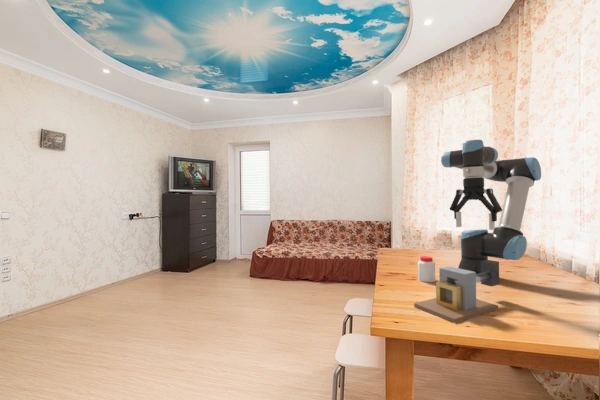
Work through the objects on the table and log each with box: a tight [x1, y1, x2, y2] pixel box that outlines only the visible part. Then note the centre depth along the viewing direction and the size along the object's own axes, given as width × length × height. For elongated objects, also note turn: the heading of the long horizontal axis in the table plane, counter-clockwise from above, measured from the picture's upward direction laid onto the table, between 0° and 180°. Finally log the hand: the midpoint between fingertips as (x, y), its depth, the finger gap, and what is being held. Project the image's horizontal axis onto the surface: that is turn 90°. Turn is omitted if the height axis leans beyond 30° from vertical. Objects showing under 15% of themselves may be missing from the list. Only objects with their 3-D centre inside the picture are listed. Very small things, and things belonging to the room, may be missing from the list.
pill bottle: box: [417, 255, 436, 283], centre depth 142 cm, size 8×8×11 cm
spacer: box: [435, 280, 462, 311], centre depth 104 cm, size 3×8×8 cm, turn 27°
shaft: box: [452, 259, 500, 287], centre depth 111 cm, size 24×4×9 cm, turn 117°
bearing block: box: [413, 266, 499, 324], centre depth 106 cm, size 24×16×14 cm, turn 117°
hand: (474, 228), depth 123 cm, fingers open, 13 cm apart
